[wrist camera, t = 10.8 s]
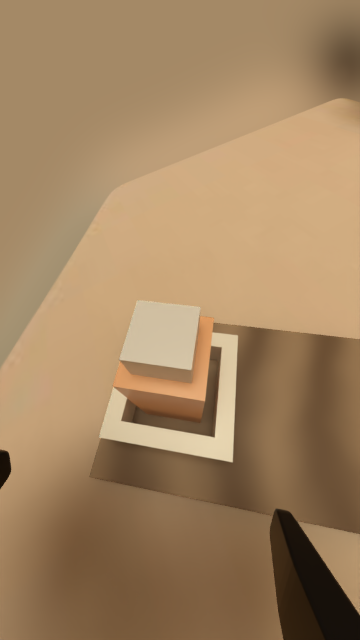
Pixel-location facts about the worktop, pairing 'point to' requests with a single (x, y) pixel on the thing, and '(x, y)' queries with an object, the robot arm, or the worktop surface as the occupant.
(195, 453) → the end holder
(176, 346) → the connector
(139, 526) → the worktop surface
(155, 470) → the board
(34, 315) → the worktop surface
